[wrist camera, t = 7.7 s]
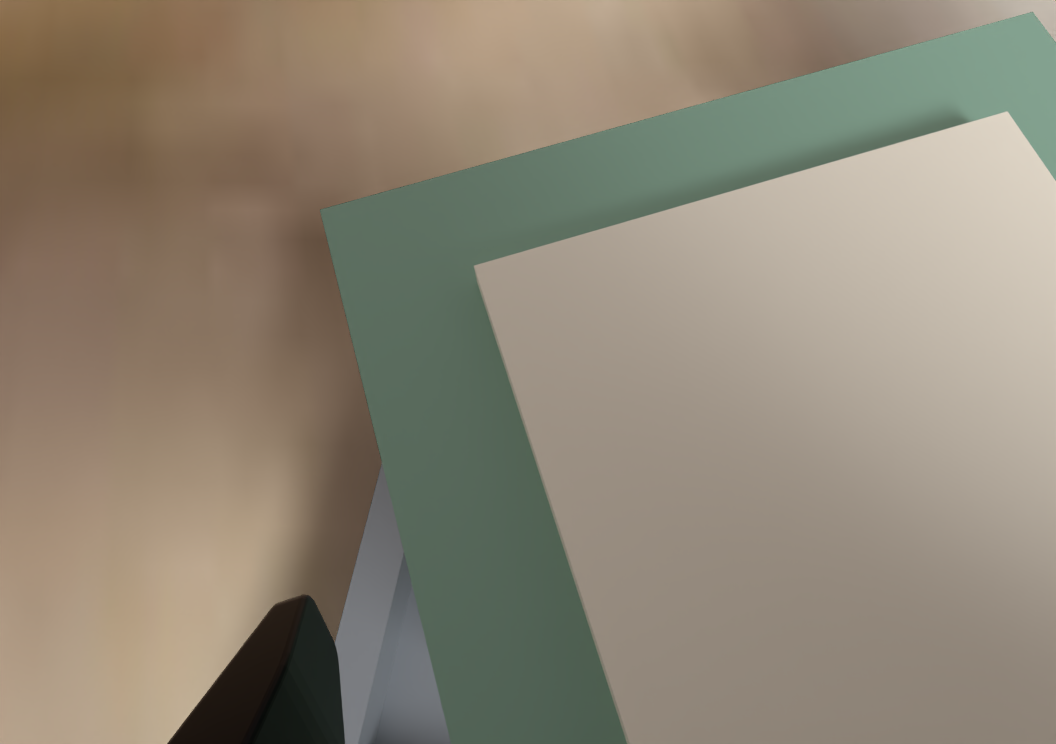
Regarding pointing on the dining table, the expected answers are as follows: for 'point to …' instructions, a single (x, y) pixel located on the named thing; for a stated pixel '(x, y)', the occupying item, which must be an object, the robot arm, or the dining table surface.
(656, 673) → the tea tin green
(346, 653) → the tray
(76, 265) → the dining table surface
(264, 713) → the robot arm
